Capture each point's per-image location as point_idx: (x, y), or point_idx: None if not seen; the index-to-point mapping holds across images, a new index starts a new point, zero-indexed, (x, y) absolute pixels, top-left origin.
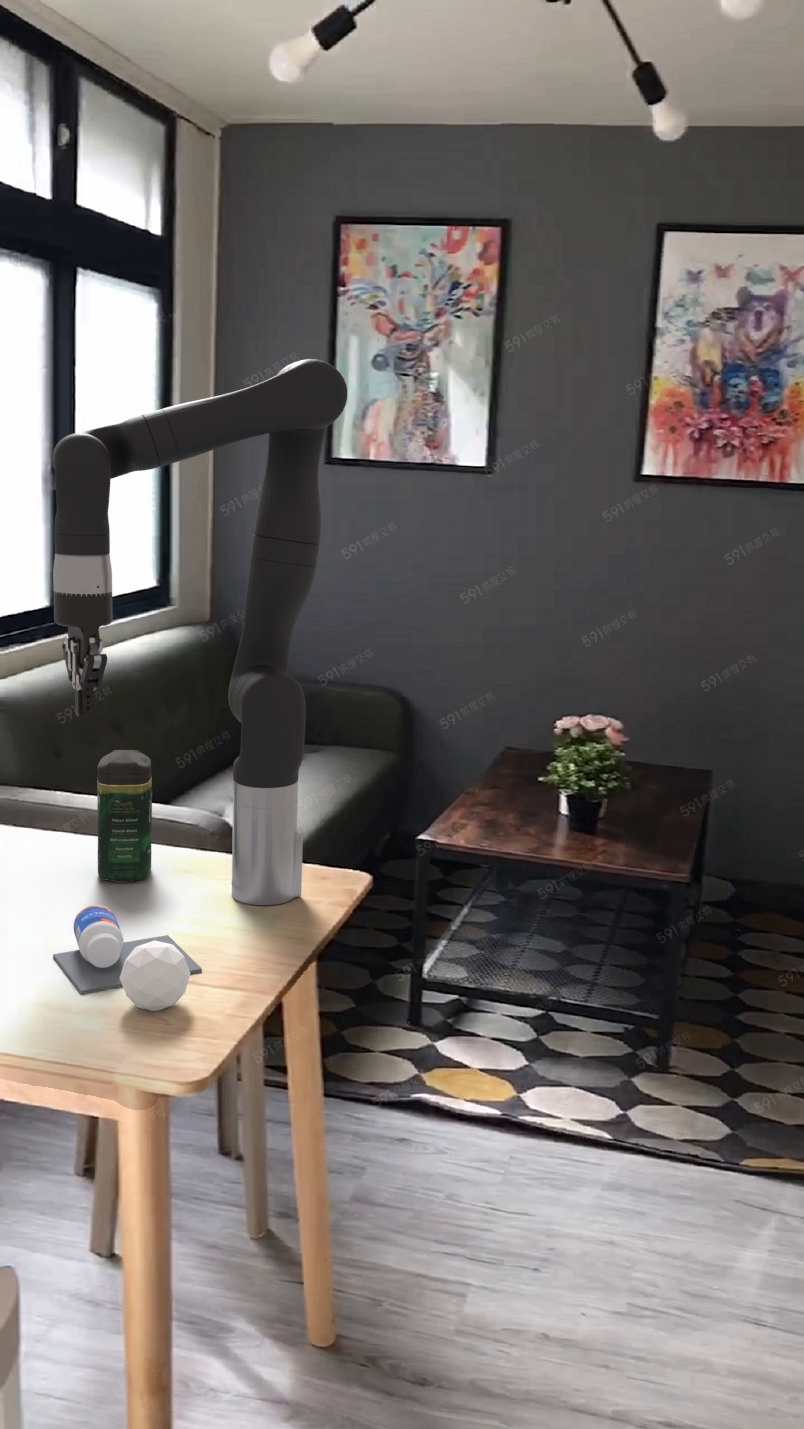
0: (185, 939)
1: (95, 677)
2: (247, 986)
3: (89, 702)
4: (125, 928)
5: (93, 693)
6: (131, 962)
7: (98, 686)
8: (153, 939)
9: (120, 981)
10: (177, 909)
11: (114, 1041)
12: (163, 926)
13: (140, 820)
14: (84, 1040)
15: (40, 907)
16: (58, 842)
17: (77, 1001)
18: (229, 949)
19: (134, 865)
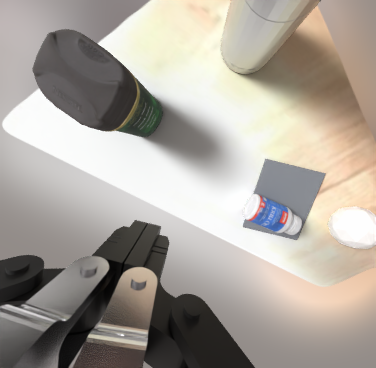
0: (275, 150)
1: (180, 349)
2: (362, 164)
3: (163, 265)
4: (232, 170)
5: (144, 262)
6: (361, 248)
7: (204, 309)
8: (265, 170)
9: (303, 218)
10: (226, 122)
11: (354, 254)
12: (246, 149)
13: (146, 100)
14: (341, 263)
15: (165, 193)
16: (42, 114)
17: (301, 244)
18: (310, 137)
19: (159, 116)
